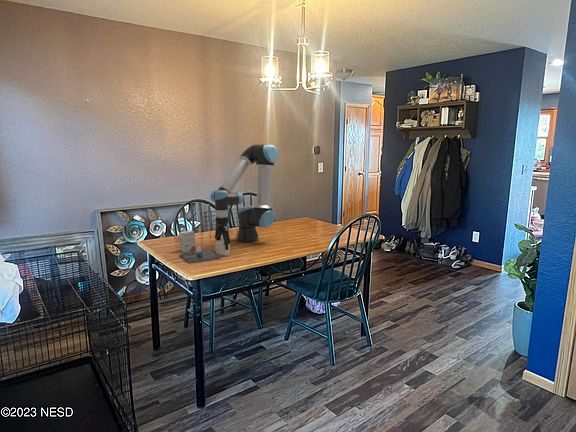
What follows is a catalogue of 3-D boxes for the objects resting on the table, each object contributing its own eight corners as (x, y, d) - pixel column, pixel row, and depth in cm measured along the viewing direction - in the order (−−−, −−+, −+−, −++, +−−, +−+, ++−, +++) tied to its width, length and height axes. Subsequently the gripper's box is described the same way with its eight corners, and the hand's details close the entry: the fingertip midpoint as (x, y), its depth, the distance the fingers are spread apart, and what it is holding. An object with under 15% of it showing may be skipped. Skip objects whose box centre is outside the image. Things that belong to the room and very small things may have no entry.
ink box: (191, 248, 246) (190, 230, 244) (196, 249, 242) (195, 231, 240) (179, 250, 240) (178, 232, 238) (183, 252, 236) (182, 233, 234)
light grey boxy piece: (214, 252, 236) (213, 240, 235) (226, 250, 241) (226, 238, 239) (219, 255, 230) (218, 243, 228) (231, 253, 234) (231, 241, 233)
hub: (209, 251, 238) (208, 241, 237) (220, 258, 223) (220, 248, 222) (179, 255, 229) (179, 245, 228) (189, 263, 213) (188, 252, 212)
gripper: (208, 214, 239) (209, 249, 243) (223, 220, 220) (224, 258, 223) (220, 213, 243) (221, 247, 247) (235, 219, 223) (236, 256, 227)
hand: (222, 252), depth 235 cm, fingers open, 11 cm apart
